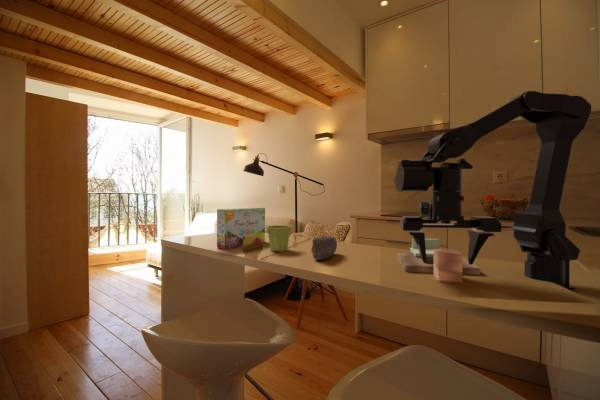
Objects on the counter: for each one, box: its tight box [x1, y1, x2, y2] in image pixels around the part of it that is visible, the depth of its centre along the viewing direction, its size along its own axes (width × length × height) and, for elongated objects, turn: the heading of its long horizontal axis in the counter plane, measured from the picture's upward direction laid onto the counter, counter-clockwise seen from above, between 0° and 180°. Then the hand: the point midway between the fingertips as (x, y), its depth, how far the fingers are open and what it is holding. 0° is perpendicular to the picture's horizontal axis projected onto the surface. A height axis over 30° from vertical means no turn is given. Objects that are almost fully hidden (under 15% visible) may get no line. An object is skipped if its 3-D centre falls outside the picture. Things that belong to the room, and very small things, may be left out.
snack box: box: [216, 206, 266, 250], centre depth 115 cm, size 21×6×15 cm, turn 143°
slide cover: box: [409, 238, 441, 257], centre depth 78 cm, size 8×8×4 cm
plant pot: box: [265, 224, 293, 252], centre depth 102 cm, size 9×9×9 cm
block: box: [433, 248, 463, 283], centre depth 61 cm, size 4×4×7 cm
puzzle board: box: [396, 252, 481, 276], centre depth 72 cm, size 16×14×3 cm
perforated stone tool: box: [310, 235, 338, 261], centre depth 90 cm, size 15×5×7 cm, turn 149°
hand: (446, 263), depth 61 cm, fingers open, 9 cm apart
